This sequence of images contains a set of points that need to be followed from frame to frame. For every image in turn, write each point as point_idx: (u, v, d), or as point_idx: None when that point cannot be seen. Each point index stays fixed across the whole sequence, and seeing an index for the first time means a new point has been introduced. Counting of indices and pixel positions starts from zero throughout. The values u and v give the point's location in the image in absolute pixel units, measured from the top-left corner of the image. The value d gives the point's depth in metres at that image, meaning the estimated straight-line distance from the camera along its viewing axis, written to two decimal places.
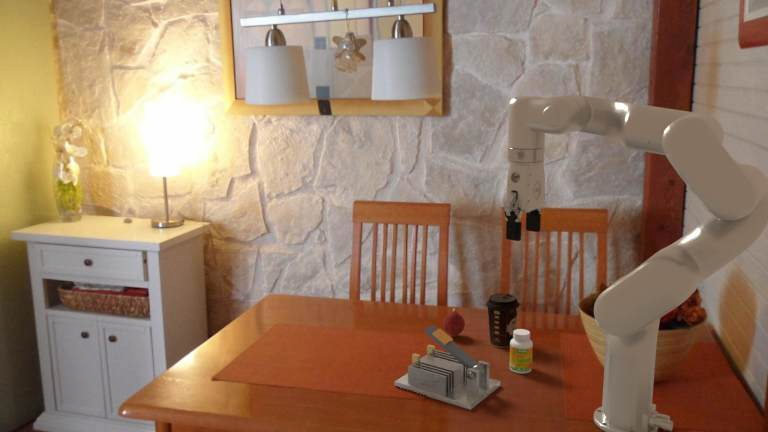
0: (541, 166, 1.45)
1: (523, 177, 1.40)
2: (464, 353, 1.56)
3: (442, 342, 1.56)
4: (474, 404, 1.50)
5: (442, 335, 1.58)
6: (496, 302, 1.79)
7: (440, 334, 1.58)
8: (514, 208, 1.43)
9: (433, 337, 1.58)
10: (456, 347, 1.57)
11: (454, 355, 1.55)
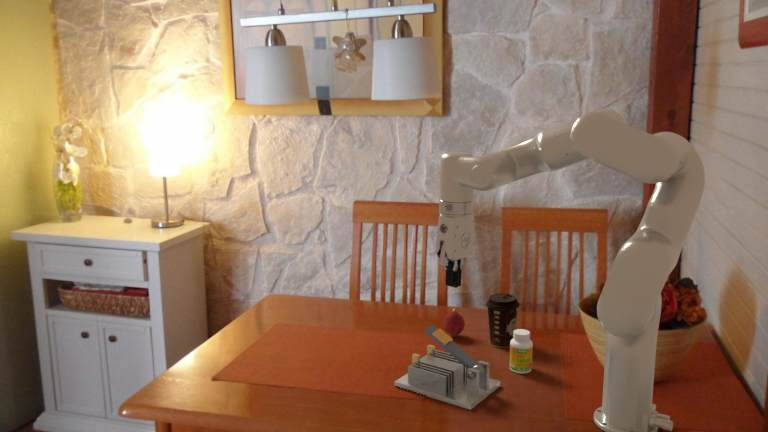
0: (470, 217, 1.54)
1: (450, 228, 1.50)
2: (464, 353, 1.56)
3: (442, 342, 1.56)
4: (474, 404, 1.50)
5: (442, 335, 1.58)
6: (496, 302, 1.79)
7: (440, 334, 1.58)
8: None
9: (433, 337, 1.58)
10: (456, 347, 1.57)
11: (454, 355, 1.55)
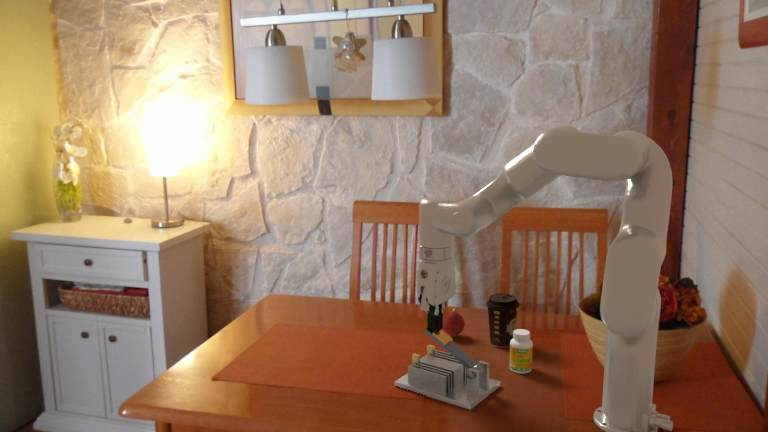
0: (450, 262, 1.56)
1: (431, 274, 1.51)
2: (464, 353, 1.56)
3: (442, 342, 1.56)
4: (474, 404, 1.50)
5: (442, 335, 1.58)
6: (496, 302, 1.79)
7: (440, 334, 1.58)
8: None
9: (433, 337, 1.58)
10: (456, 347, 1.57)
11: (454, 355, 1.55)
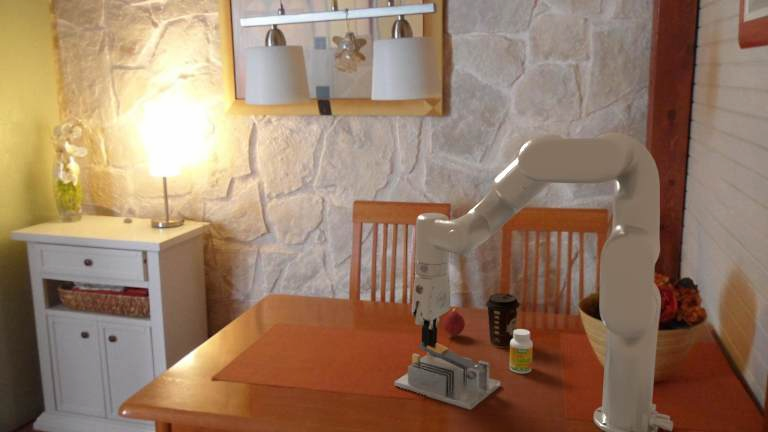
0: (446, 277, 1.57)
1: (426, 289, 1.52)
2: (461, 358, 1.57)
3: (437, 352, 1.58)
4: (474, 404, 1.50)
5: (437, 346, 1.59)
6: (496, 302, 1.79)
7: (435, 346, 1.59)
8: None
9: (428, 350, 1.59)
10: (453, 354, 1.58)
11: (452, 361, 1.56)
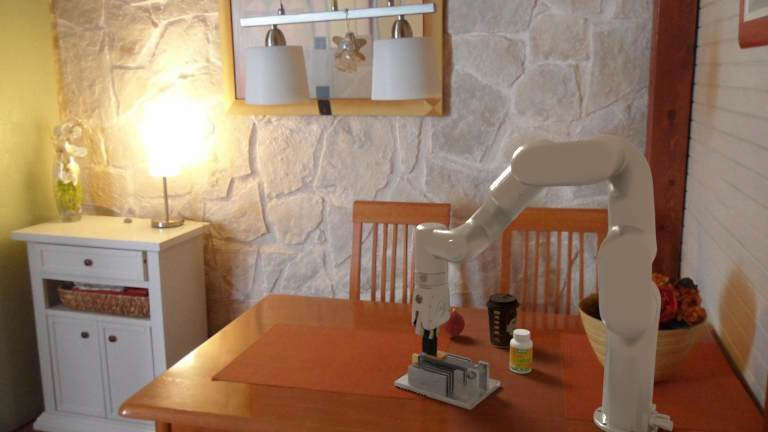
0: (445, 286, 1.58)
1: (425, 299, 1.53)
2: (460, 361, 1.57)
3: (436, 359, 1.58)
4: (474, 404, 1.50)
5: (435, 353, 1.60)
6: (496, 302, 1.79)
7: None
8: None
9: (428, 358, 1.60)
10: (452, 359, 1.58)
11: (451, 366, 1.56)
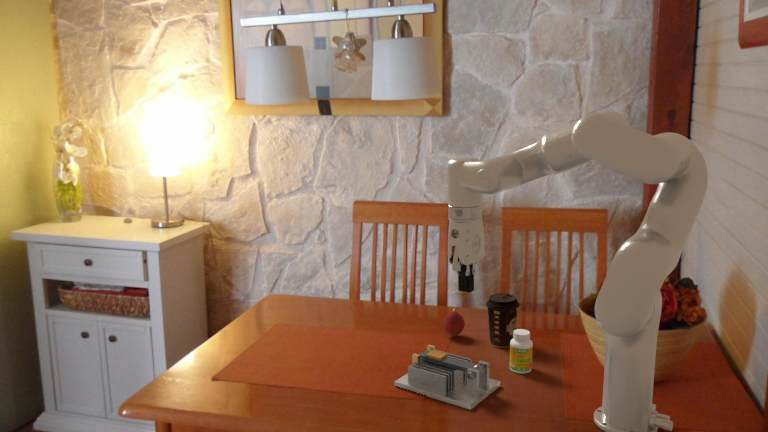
0: (480, 222, 1.56)
1: (462, 233, 1.51)
2: (460, 361, 1.57)
3: (436, 359, 1.58)
4: (474, 404, 1.50)
5: (435, 354, 1.60)
6: (496, 302, 1.79)
7: (433, 353, 1.60)
8: None
9: (428, 359, 1.60)
10: (452, 359, 1.58)
11: (451, 366, 1.56)
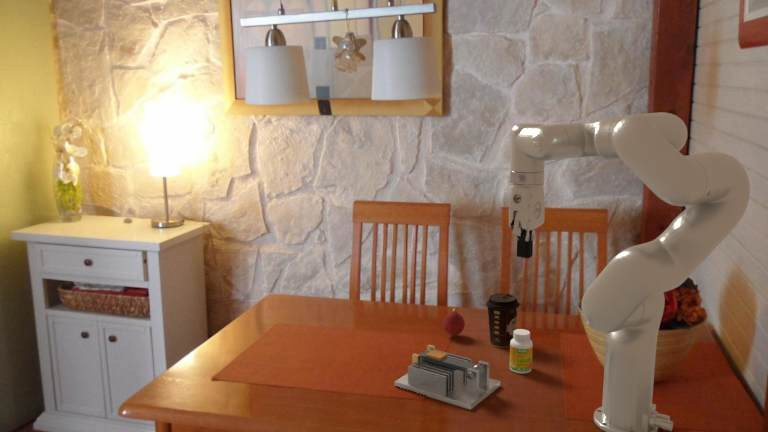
0: (541, 188, 1.57)
1: (524, 198, 1.52)
2: (460, 361, 1.57)
3: (436, 359, 1.58)
4: (474, 404, 1.50)
5: (435, 354, 1.60)
6: (496, 302, 1.79)
7: (433, 353, 1.60)
8: None
9: (428, 359, 1.60)
10: (452, 359, 1.58)
11: (451, 366, 1.56)
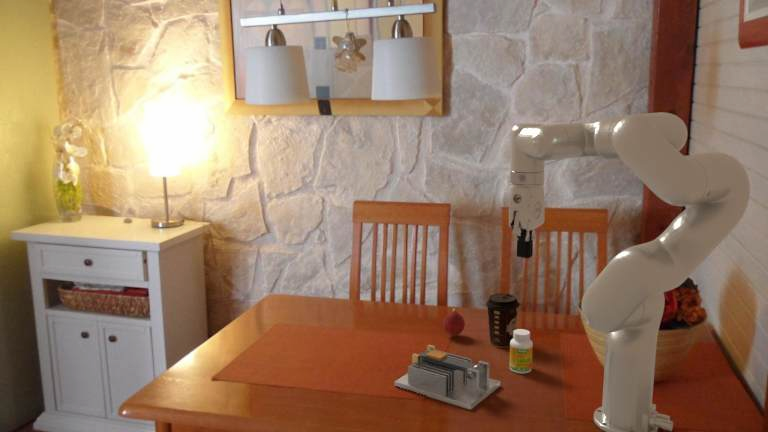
0: (541, 188, 1.57)
1: (524, 198, 1.52)
2: (460, 361, 1.57)
3: (436, 359, 1.58)
4: (474, 404, 1.50)
5: (435, 354, 1.60)
6: (496, 302, 1.79)
7: (433, 353, 1.60)
8: None
9: (428, 359, 1.60)
10: (452, 359, 1.58)
11: (451, 366, 1.56)
